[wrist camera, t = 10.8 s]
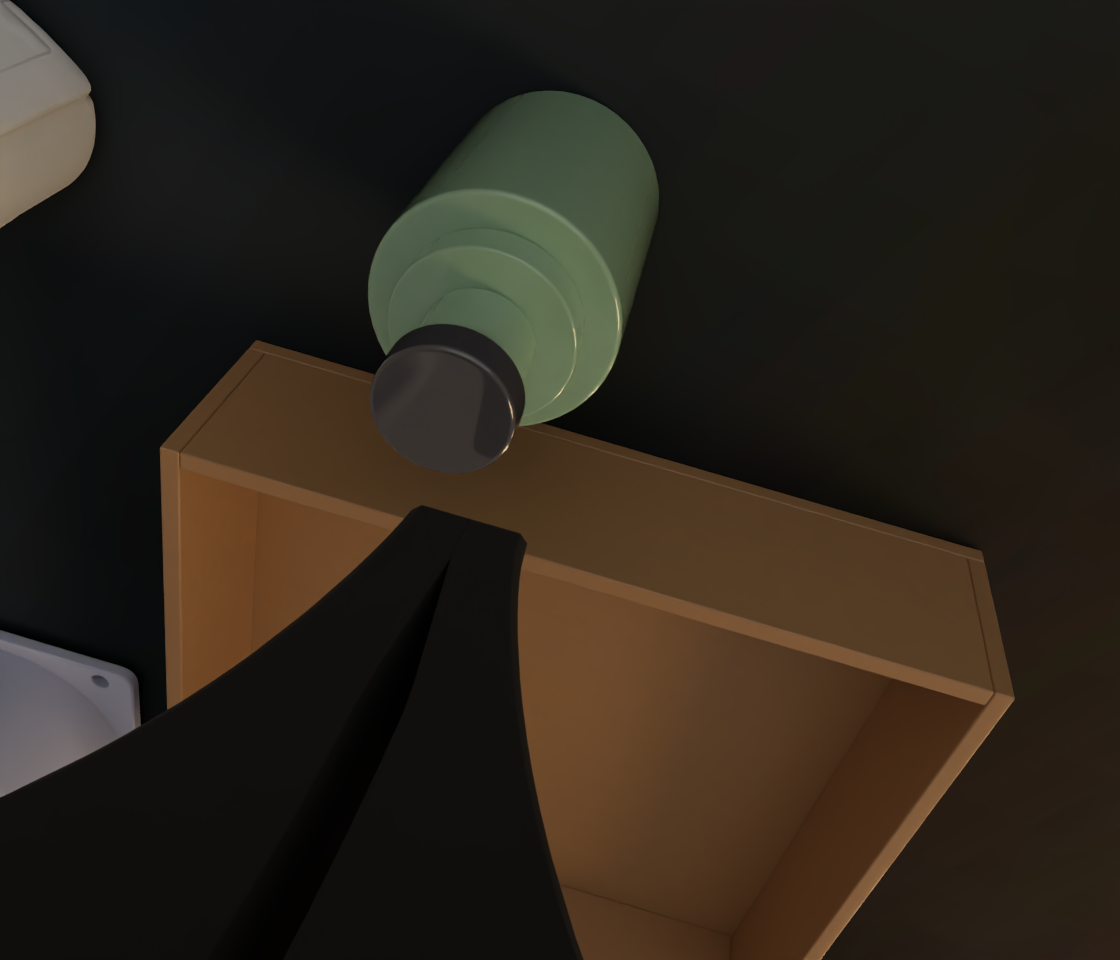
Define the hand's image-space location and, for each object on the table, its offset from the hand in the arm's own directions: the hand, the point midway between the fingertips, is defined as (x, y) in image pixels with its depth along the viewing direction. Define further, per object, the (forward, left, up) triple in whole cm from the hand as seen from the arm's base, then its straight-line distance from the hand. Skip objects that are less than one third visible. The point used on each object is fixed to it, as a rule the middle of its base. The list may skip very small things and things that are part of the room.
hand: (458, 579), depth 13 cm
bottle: (-1, +1, -10) cm, 10 cm away
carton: (+2, -13, -10) cm, 16 cm away
